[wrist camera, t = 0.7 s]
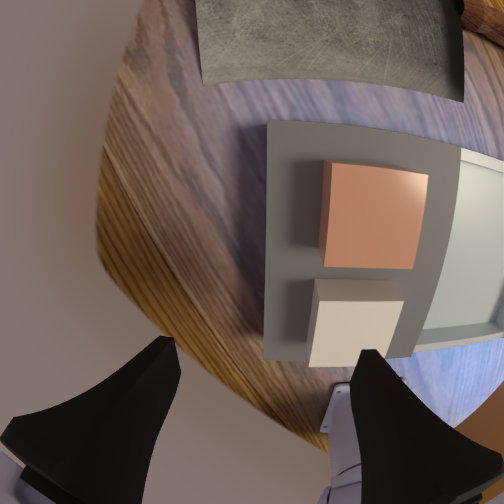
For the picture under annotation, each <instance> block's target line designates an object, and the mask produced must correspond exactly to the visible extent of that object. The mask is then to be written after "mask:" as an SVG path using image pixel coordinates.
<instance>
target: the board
mask: <svg viewBox="0 0 504 504" xmlns="http://www.w3.org/2000/svg"><path fill="white" fill-rule="evenodd" d="M324 160H337V161H349V162H359V163H368V164H376V165H384V166H392V167H399V168H406V169H410V170H414V171H417V172H420V173H424V174H427V175H428V184H427V192H426V200H425V207H424V214H423V220H422V226H421V232H420V237H419V242H418V247H417V252H416V257H415V261H414V265H413V269H388V268H351V267H324V265H323V262H322V259H321V256H320V252H319V249H318V242H319V231H320V218H321V203H322V187H323V165H324ZM460 163H461V147H459V146H456V145H452V144H448V143H444V142H440V141H436V140H432V139H428V138H423V137H419V136H414V135H409V134H404V133H399V132H393V131H387V130H381V129H375V128H368V127H360V126H352V125H343V124H333V123H321V122H307V121H285V120H267V197H266V259H265V302H264V337H263V360H274V361H308V354H307V342H306V341H307V335H308V328H309V321H310V314H311V306H312V298H313V290H314V282H315V279H345V280H390V281H391V282H392V284H393V285H394V287H395V288H396V290H397V291H398V293H399V294H400V296H401V297H402V299H403V300H404V303H403V306H402V309H401V313H400V316H399V319H398V322H397V325H396V328H395V331H394V334H393V337H392V339H391V342H390V345H389V348H388V350H387V353H386V355H385V358H384V359H391V358H403V357H411V355H412V353H413V350H414V348H415V346H416V343H417V341H418V339H419V336H420V334H421V331H422V329H423V326H424V323H425V321H426V318H427V315H428V312H429V310H430V307H431V304H432V301H433V298H434V295H435V292H436V288H437V285H438V282H439V278H440V275H441V271H442V268H443V264H444V260H445V256H446V252H447V248H448V243H449V239H450V234H451V229H452V224H453V218H454V212H455V206H456V200H457V192H458V184H459V175H460Z"/></svg>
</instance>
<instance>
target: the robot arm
mask: <svg viewBox="0 0 504 504" xmlns="http://www.w3.org/2000/svg"><path fill="white" fill-rule="evenodd" d="M180 376H181V369H180V365H179V360H178V356H177V351H176V346H175V341H174V338H172V337H166V336H159V337H157V338H156V339H155V340H154V341H153V342H151V343H150V344H149V345H148V346H147V347H145V348H144V349H143V350H142V351H141V352H140V353H138V354H137V355H136V356H135V357H134V358H133V359H131V360H130V361H129V362H127V363H126V364H125V365H124V366H123V367H122V368H120V369H119V370H118V371H116V372H115V373H113V374H112V375H110V376H109V377H108V378H106V379H105V380H104V381H102V382H101V383H99V384H97V385H96V386H94V387H93V388H91V389H89V390H87V391H86V392H84V393H82V394H80V395H78V396H76V397H74V398H72V399H70V400H68V401H66V402H64V403H61V404H59V405H56V406H54V407H51V408H48V409H45V410H42V411H39V412H35V413H31V414H27V415H22V416H18V417H13V419H12V420H11V421H10V423H9V424H8V426H7V427H6V429H5V430H4V432H3V433H2V435H1V436H0V441H1V443H2V444H3V445H4V446H6V448H7V449H9V450H10V451H11V452H12V453H13V454H14V455H15V456H16V457H17V458H19V459H20V460H21V461H22V462H23V463H24V464H25V465H26V466H25V468H24V469H23V468H22V467H20V466H19V465H18V464H17V463H16V462H14V461H13V460H12V459H11V458H10V457H8V456H7V455H6V454H5V453H4V452H3V451H1V452H0V504H142V497H143V492H144V487H145V481H146V477H147V472H148V468H149V464H150V460H151V456H152V453H153V449H154V445H155V442H156V439H157V437H158V434H159V432H160V430H161V427H162V425H163V422H164V420H165V418H166V416H167V413H168V410H169V409H170V406H171V404H172V401H173V399H174V397H175V394H176V391H177V387H178V384H179V380H180ZM406 383H407V381H406V379H401V378H400V377H399V376H398V375H397V374H396V372H395V371H394V370H393V369H392V368H391V366H390V365H389V364H388V363H387V362H386V360H385V359H384V358H383V357H382V355H381V354H380V353H379V352H378V351H377V350H376V349H362V350H361V353H360V356H359V358H358V361H357V364H356V367H355V370H354V372H353V375H352V378H351V380H350V383H344V384H337V385H336V386H335V387H334V390H333V393H332V396H331V399H330V402H329V405H328V408H327V411H326V413H325V416H324V419H323V422H322V424H321V427H320V432H322V433H328V439H329V453H330V468H331V473H332V475H333V477H332V478H331V486H328V487H326V488H325V489H324V491H323V493H322V494H321V496H320V498H319V500H318V504H479V503H478V502H479V501H481V500H482V493H481V492H483V491H484V490H486V489H487V488H489V487H490V486H492V485H493V484H494V483H496V482H497V481H498V480H500V479H501V478H502V477H503V476H504V461H503V458H502V455H501V454H500V453H498V452H495V451H493V450H490V449H488V448H486V447H483V446H481V445H479V444H478V443H476V442H474V441H472V440H470V439H469V438H467V437H465V436H464V435H462V434H460V433H459V432H458V431H456V430H454V429H453V428H452V427H451V426H449V425H448V424H447V423H445V422H444V421H443V420H441V419H440V418H439V417H438V416H437V415H436V414H435V413H433V412H432V411H431V410H430V409H429V408H428V407H427V406H426V405H425V404H424V403H423V402H422V401H421V400H420V399H419V398H418V397H417V396H416V395H415V394H414V393H413V392H412V391H411V390H410V389H409V388H408V386H407V385H406ZM485 504H504V492H503V493H501V494H499V495H498V496H496V497H495V498H493V499H491V500H490V501H488V502H486V503H485Z"/></svg>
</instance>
